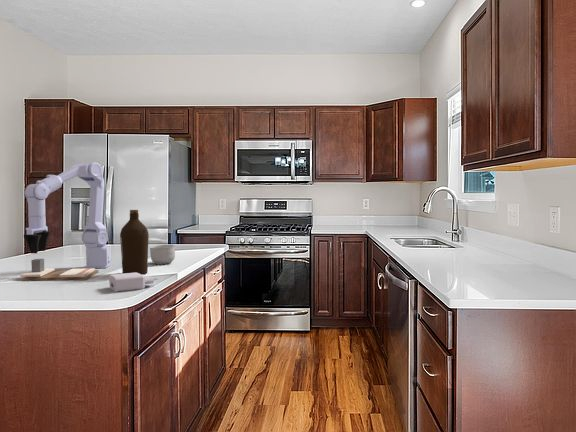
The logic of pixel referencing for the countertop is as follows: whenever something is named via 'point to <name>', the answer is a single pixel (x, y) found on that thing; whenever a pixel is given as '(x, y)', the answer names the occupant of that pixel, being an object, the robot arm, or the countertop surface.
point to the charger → (129, 281)
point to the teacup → (162, 254)
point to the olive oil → (134, 245)
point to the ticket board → (55, 276)
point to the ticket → (77, 272)
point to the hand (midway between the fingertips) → (38, 252)
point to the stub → (37, 269)
